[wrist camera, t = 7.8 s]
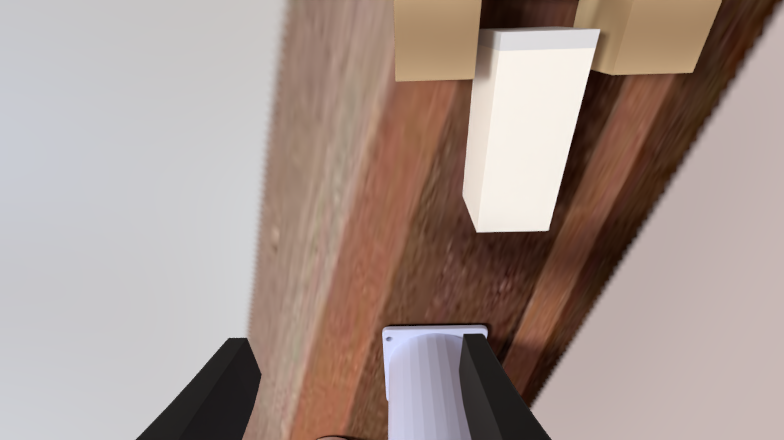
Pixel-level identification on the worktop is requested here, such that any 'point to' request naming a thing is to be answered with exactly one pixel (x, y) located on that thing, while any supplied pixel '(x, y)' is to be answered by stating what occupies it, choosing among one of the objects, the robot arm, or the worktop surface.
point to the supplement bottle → (331, 438)
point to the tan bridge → (595, 11)
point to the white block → (523, 122)
